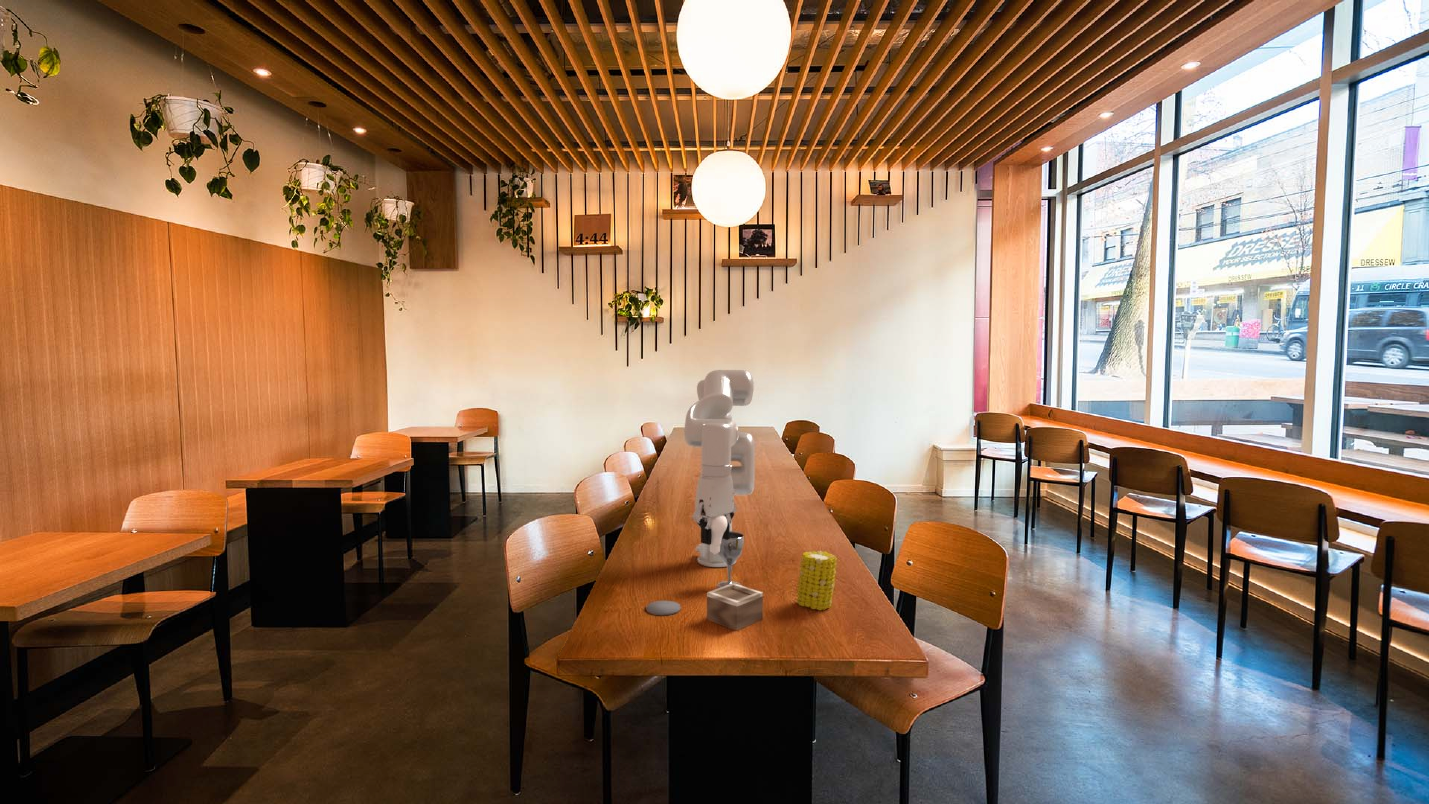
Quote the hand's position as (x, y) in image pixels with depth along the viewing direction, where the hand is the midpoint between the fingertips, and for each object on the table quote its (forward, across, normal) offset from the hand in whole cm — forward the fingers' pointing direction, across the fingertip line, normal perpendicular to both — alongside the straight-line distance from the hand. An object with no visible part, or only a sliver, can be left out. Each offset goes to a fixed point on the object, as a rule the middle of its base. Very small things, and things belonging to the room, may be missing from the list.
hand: (715, 540), depth 170 cm
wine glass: (+20, -19, -13) cm, 31 cm away
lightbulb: (+4, 0, 0) cm, 4 cm away
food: (+20, -25, +14) cm, 35 cm away
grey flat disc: (+20, +7, -12) cm, 24 cm away
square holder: (+20, -2, +5) cm, 20 cm away
